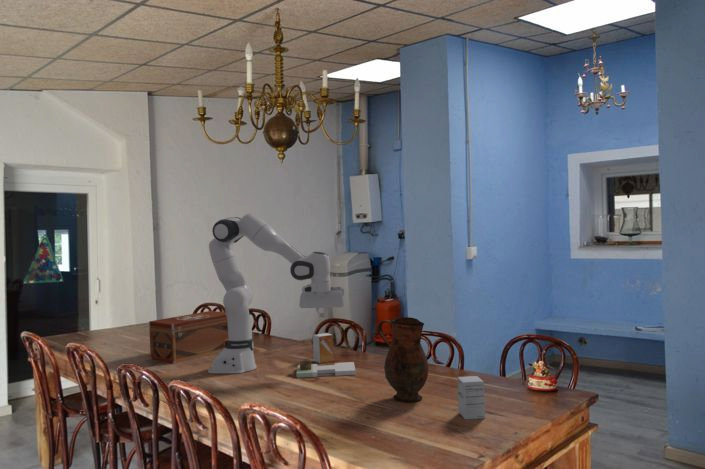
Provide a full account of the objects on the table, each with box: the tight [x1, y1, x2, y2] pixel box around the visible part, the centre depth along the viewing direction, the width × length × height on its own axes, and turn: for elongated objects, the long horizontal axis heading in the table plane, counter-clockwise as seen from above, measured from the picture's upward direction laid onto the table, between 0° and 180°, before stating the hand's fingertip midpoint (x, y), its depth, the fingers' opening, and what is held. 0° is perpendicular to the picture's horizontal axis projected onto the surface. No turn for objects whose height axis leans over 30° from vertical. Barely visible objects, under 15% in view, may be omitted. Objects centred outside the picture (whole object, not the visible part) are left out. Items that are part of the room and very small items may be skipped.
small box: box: [312, 332, 335, 364], centre depth 295 cm, size 8×6×13 cm
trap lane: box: [296, 361, 357, 379], centre depth 273 cm, size 26×16×2 cm, turn 93°
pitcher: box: [377, 316, 429, 403], centre depth 229 cm, size 17×21×30 cm
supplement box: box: [457, 375, 486, 420], centre depth 205 cm, size 7×7×13 cm
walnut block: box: [299, 357, 312, 370], centre depth 273 cm, size 5×5×4 cm
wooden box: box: [148, 310, 228, 365], centre depth 324 cm, size 20×41×20 cm, turn 142°
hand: (321, 317), depth 275 cm, fingers closed
